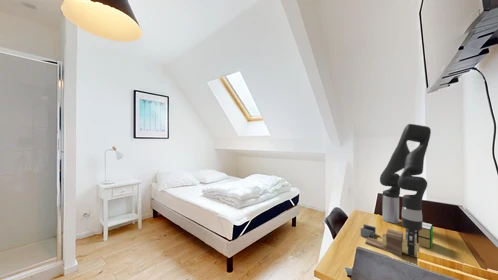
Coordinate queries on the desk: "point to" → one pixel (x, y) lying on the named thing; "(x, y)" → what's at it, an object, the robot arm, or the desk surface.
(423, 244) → the puzzle cube
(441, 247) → the desk surface
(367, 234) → the cradle
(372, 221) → the desk surface
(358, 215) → the desk surface
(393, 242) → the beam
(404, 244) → the axle bar
